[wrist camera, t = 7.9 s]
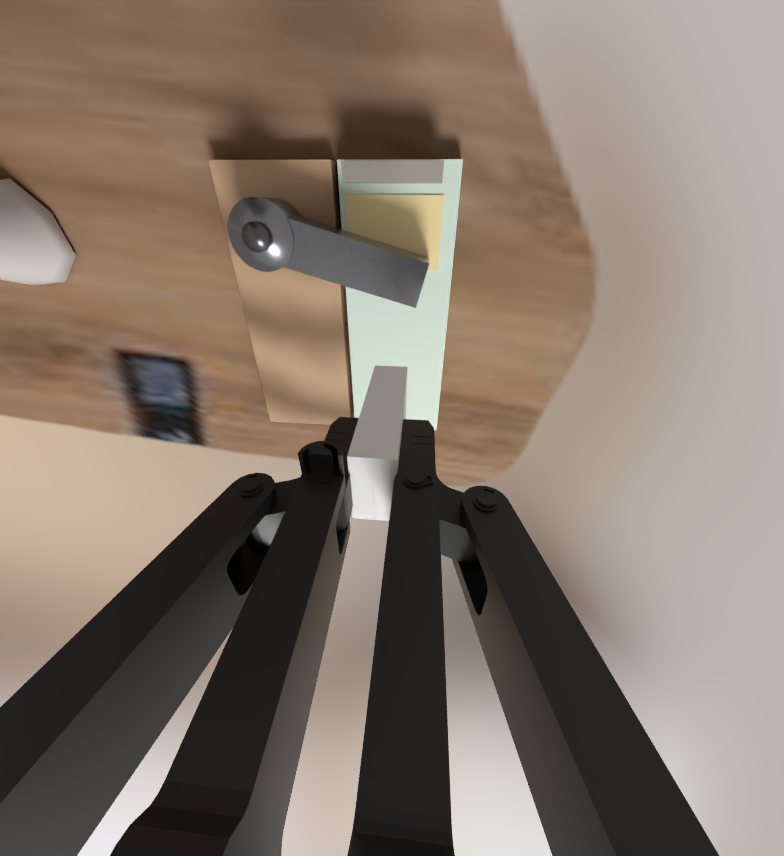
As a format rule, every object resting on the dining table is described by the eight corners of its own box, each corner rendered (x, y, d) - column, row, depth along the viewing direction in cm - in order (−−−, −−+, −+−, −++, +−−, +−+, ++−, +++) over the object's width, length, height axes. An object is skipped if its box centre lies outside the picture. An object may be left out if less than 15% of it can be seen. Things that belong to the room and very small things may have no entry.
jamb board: (218, 162, 22) (208, 160, 21) (335, 161, 22) (330, 159, 21) (275, 414, 33) (270, 421, 32) (353, 419, 33) (351, 425, 32)
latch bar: (249, 255, 24) (221, 263, 21) (251, 189, 22) (220, 186, 18) (414, 305, 25) (412, 321, 22) (431, 247, 23) (432, 255, 19)
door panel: (341, 161, 22) (330, 156, 19) (461, 161, 21) (465, 155, 19) (357, 419, 33) (351, 435, 30) (436, 423, 32) (436, 440, 30)
